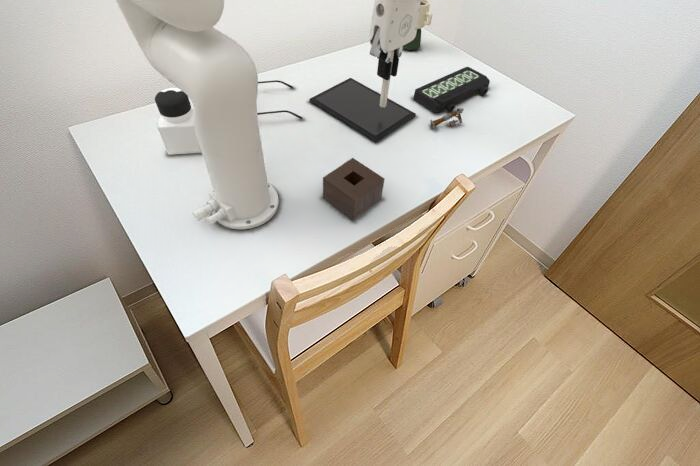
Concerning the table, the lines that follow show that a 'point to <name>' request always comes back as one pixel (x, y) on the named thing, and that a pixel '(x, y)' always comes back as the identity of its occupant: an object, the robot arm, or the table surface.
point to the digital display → (451, 90)
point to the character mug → (420, 25)
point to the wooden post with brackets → (447, 117)
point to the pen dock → (352, 188)
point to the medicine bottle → (176, 122)
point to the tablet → (362, 109)
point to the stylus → (385, 88)
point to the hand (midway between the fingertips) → (386, 75)
